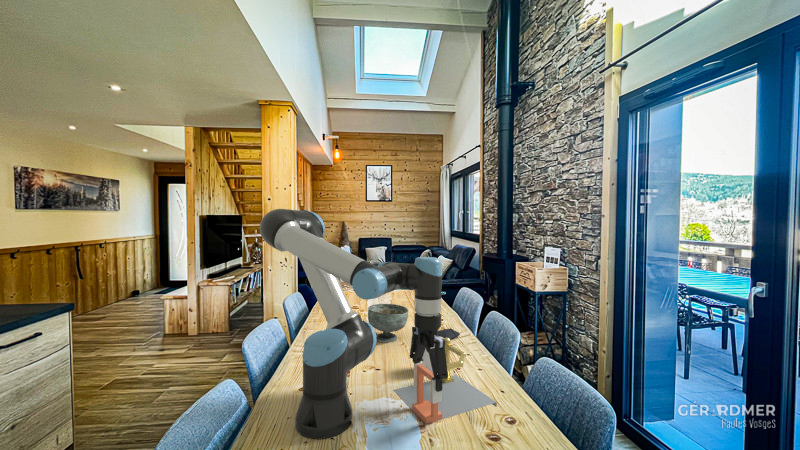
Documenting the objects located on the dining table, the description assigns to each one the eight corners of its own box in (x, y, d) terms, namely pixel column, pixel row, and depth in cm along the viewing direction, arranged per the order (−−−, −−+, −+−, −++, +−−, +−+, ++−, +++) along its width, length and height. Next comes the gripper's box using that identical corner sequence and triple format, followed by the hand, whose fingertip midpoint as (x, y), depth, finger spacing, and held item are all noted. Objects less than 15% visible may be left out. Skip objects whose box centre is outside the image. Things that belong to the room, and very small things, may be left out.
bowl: (408, 346, 144) (408, 313, 144) (365, 346, 144) (365, 312, 144) (407, 332, 164) (408, 302, 164) (369, 331, 164) (370, 302, 164)
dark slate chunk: (464, 339, 156) (465, 329, 156) (430, 348, 143) (430, 338, 143) (443, 330, 168) (443, 321, 168) (409, 338, 156) (409, 328, 156)
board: (425, 428, 85) (425, 424, 85) (393, 393, 103) (393, 390, 103) (496, 406, 96) (496, 402, 96) (456, 378, 114) (456, 374, 114)
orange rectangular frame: (427, 425, 85) (428, 379, 85) (411, 407, 93) (411, 366, 93) (443, 420, 87) (443, 375, 87) (426, 403, 95) (426, 362, 95)
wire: (439, 412, 91) (439, 360, 91) (410, 386, 106) (411, 341, 106) (480, 400, 97) (480, 352, 98) (447, 377, 112) (448, 335, 112)
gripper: (462, 321, 82) (462, 409, 82) (419, 303, 102) (419, 374, 101) (438, 325, 79) (437, 417, 79) (398, 305, 98) (397, 379, 98)
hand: (427, 393), depth 90 cm, fingers closed on orange rectangular frame, 9 cm apart
